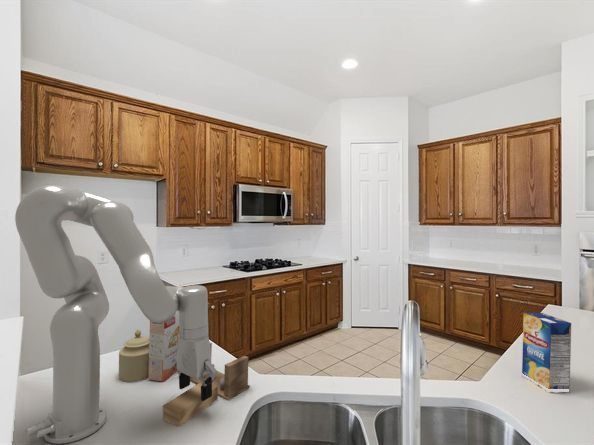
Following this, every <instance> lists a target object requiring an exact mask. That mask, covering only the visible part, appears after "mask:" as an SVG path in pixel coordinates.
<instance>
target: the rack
mask: <svg viewBox="0 0 594 445" xmlns="http://www.w3.org/2000/svg"><path fill="white" fill-rule="evenodd" d="M212 345H213V343H212V342H210V349H211V354H212V351H213V350H212V348H213V347H212ZM212 365H213V367H214V368H215V364H214V363H212ZM203 373H204V371H203ZM204 379H205V380H206V379H207V375H205V376H204ZM200 382H201V381H200V378H198V379H194V378H192V377H190V383H192V384H195V385H197V384H199V383H200ZM212 385H215V386H218V398H219V397H220V398H222V399H223V400H225V401H230V400H231V399H232V398H235V397H237V396H238V395H239V394H241V393H243V392H244V391H247V390H248V389H250V385H249V356H246V355H243V356H241V357H239V358H237V359H234V360H232V361H230V362H228V363H226V364H224V372H221V371H219V370H217V374H216V377H215V380H214V381H213V382H212Z"/></svg>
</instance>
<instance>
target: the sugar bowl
mask: <svg viewBox="0 0 594 445" xmlns="http://www.w3.org/2000/svg"><path fill="white" fill-rule="evenodd" d="M148 368H149V336H148V337H147V336H145V335H142V331H141V330H140V329H136V330H135V332H134V336H133V337H131V338H129V339H128V340H127V341H125V342H124V343H123V347H122V348H121V349H119V351H118V379H119V380H120V381H122V382H125V383H133V382H139V381H143V380H147V379H148Z"/></svg>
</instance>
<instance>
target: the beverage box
mask: <svg viewBox="0 0 594 445" xmlns="http://www.w3.org/2000/svg"><path fill="white" fill-rule="evenodd" d="M522 322H523V323H522V326H523V327H522V356H521V358H522V362H521V364H522V365H521V366H522V369H521V374H522V373H523V374H524V375H526V376H528V377H529V378H531V379H533V380H534V381H536V382H538V383H539V384H541V385H543V386H545V387H546V388H548V389H570V387H571V384H570V383H571V353H572V352H571V351H572V350H571V349H572V323H571V322H569V321H566V320H564V319H560V318H558V317H555V316H552V315H549V314H547V313H543V312H523V319H522ZM570 390H571V389H570Z"/></svg>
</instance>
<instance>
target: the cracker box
mask: <svg viewBox="0 0 594 445" xmlns="http://www.w3.org/2000/svg"><path fill="white" fill-rule="evenodd" d="M179 335H180V326H179V312H178V311H176V314H175V315H174V317H173V318H172V319H171V320H169V321H168V322H165V323H160V324H159V323H154V322H152V321H150V320H149V336H148V338H149V368H148V378H147V379H148V380H149V381H157V382H161V383H162V382H165V380H167V379H168V378H169V377H170V376H172V375H173V374H174V373H176V372H178V370H177V366H176V360H175V356H176V355H177V344H178V338H179Z"/></svg>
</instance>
